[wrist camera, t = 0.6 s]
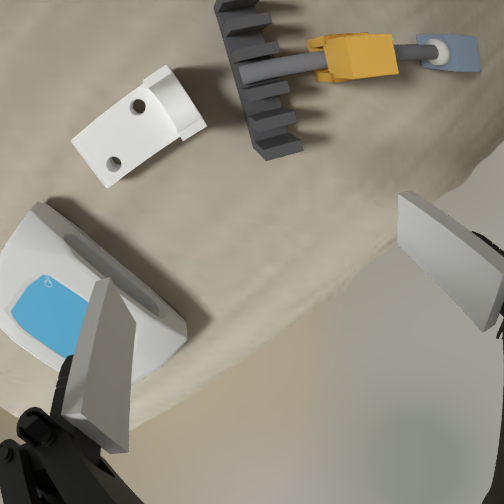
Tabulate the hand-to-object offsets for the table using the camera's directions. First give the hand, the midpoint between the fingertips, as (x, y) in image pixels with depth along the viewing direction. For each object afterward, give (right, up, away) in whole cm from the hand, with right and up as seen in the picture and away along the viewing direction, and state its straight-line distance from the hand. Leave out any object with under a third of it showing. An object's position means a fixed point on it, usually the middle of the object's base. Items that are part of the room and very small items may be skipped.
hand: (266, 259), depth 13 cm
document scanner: (-27, -7, +30) cm, 41 cm away
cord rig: (+12, +25, +19) cm, 33 cm away
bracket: (-13, +15, +19) cm, 28 cm away
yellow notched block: (+8, +22, +17) cm, 29 cm away
